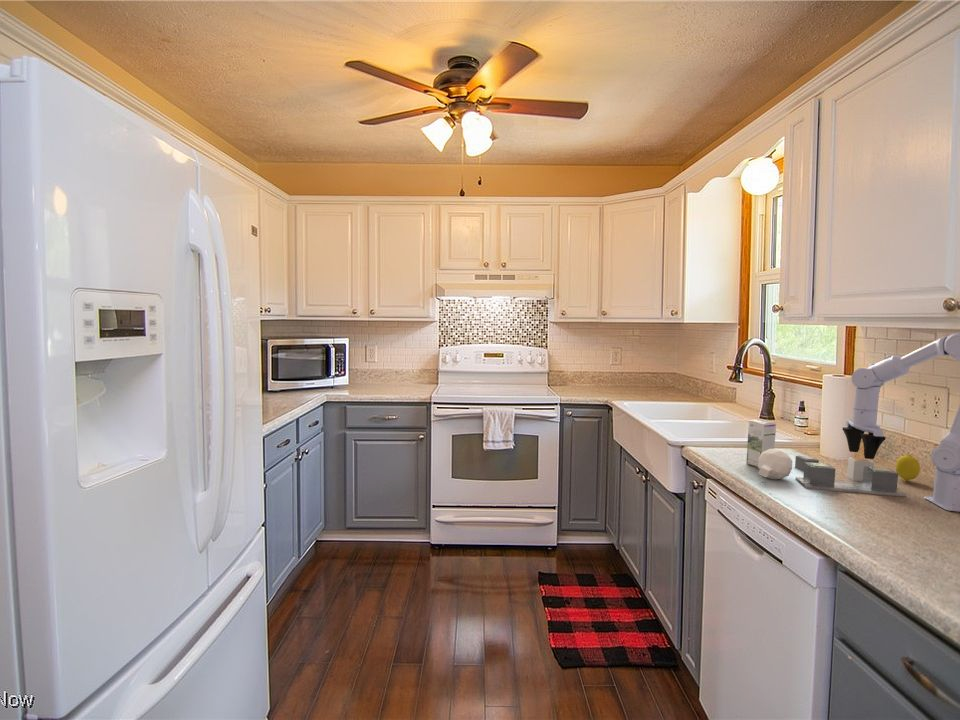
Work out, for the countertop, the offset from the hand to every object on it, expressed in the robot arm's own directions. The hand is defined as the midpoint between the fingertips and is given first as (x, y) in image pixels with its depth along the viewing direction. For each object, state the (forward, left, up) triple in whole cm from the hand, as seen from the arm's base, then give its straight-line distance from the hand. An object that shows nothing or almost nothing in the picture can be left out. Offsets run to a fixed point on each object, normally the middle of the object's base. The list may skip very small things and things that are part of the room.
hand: (861, 455), depth 154 cm
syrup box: (+7, +25, -8) cm, 27 cm away
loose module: (0, 0, -7) cm, 7 cm away
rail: (-10, +7, -7) cm, 14 cm away
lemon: (+2, -13, -8) cm, 15 cm away
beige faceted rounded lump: (-7, +26, -8) cm, 28 cm away
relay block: (+6, +12, -7) cm, 15 cm away
